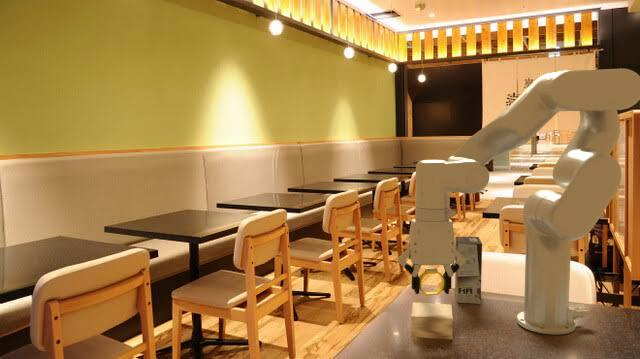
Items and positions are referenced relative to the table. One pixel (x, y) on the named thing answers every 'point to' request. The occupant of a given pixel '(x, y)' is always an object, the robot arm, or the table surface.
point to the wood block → (432, 320)
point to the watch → (432, 271)
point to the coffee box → (469, 270)
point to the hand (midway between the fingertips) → (431, 291)
